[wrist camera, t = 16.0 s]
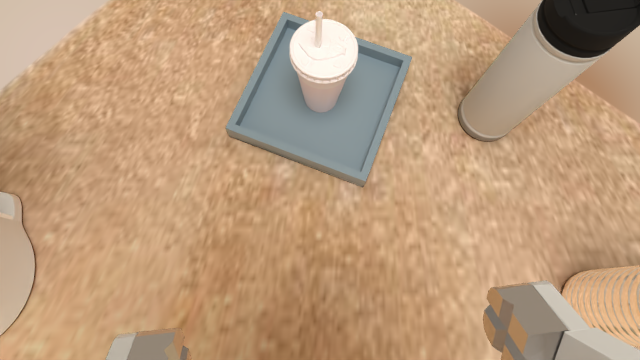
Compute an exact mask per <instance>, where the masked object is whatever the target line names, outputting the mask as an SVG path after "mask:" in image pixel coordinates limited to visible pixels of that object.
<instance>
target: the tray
mask: <svg viewBox="0 0 640 360" xmlns="http://www.w3.org/2000/svg"><path fill="white" fill-rule="evenodd" d="M307 22H309V21H308V20H305V19H302V18H300V17H297V16H294V15H291V14H288V13H285V12H283V14H282V16H281V18H280V20H279V22H278V24H277V26H276V28H275V30H274V32H273V34H272V36H271V38H270V40H269V42H268V44H267V46H266V48H265V50H264V52H263V54H262V56H261V58H260V60H259V62H258V64H257V66H256V68H255V70H254V72H253V74H252V76H251V78H250V80H249V82H248V84H247V86H246V88H245V90H244V92H243V94H242V96H241V98H240V100H239V102H238V104H237V106H236V108H235V110H234V112H233V114H232V116H231V118H230V120H229V122H228V124H227V126H226V130H227V132H228V134H229V136H230V137H233V138H235V139H238V140H240V141H243V142H246V143H248V144H251V145H254V146H256V147H259V148H261V149H264V150H267V151H269V152H272V153H274V154H277V155H280V156H282V157H285V158H288V159H290V160H293V161H295V162H298V163H301V164H303V165H306V166H309V167H311V168H314V169H316V170H319V171H322V172H324V173H327V174H329V175H332V176H335V177H337V178H340V179H343V180H345V181H348V182H350V183H353V184H356V185H358V186H361V187H363V186H364V184H365V182H366V180H367V177H368V174H369V172H370V169H371V166H372V164H373V161H374V158H375V156H376V153H377V150H378V148H379V145H380V142H381V140H382V137H383V134H384V131H385V129H386V126H387V123H388V121H389V118H390V115H391V113H392V110H393V107H394V105H395V102H396V99H397V97H398V94H399V91H400V89H401V86H402V83H403V81H404V78H405V75H406V72H407V70H408V67H409V64H410V62H411V59H412V57H410V56H408V55H405V54H402V53H399V52H396V51H393V50H391V49H388V48H385V47H382V46H379V45H376V44H373V43H371V42H368V41H365V40H362V39H359V38H356V37H355V38H356V40H357V44H358V59H357V62H356V65H355V67H354V69H353V70H352V72H351V73H350V74H349V75H348V76H347V78H346V81H345V83H344V85H343V88H342V90H341V92H340V95H339V97H338V99H337V102H336V104H335V106H334V107H333V108H332V109H331V110H329V111H327V112H323V113H319V112H315V111H313V110H311V109H310V108H309V107H308V106H307V105H306V102H305V99H304V95H303V92H302V88H301V85H300V81H299V77H298V74H297V71H295V69H294V67H293V65H292V64H291V60H290V56H289V54H290V42H291V38H292V36H293V34H294V33H295V31H296V30H297V29H298V28H299V27H301V26H302V25H303V24H305V23H307Z"/></svg>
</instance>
